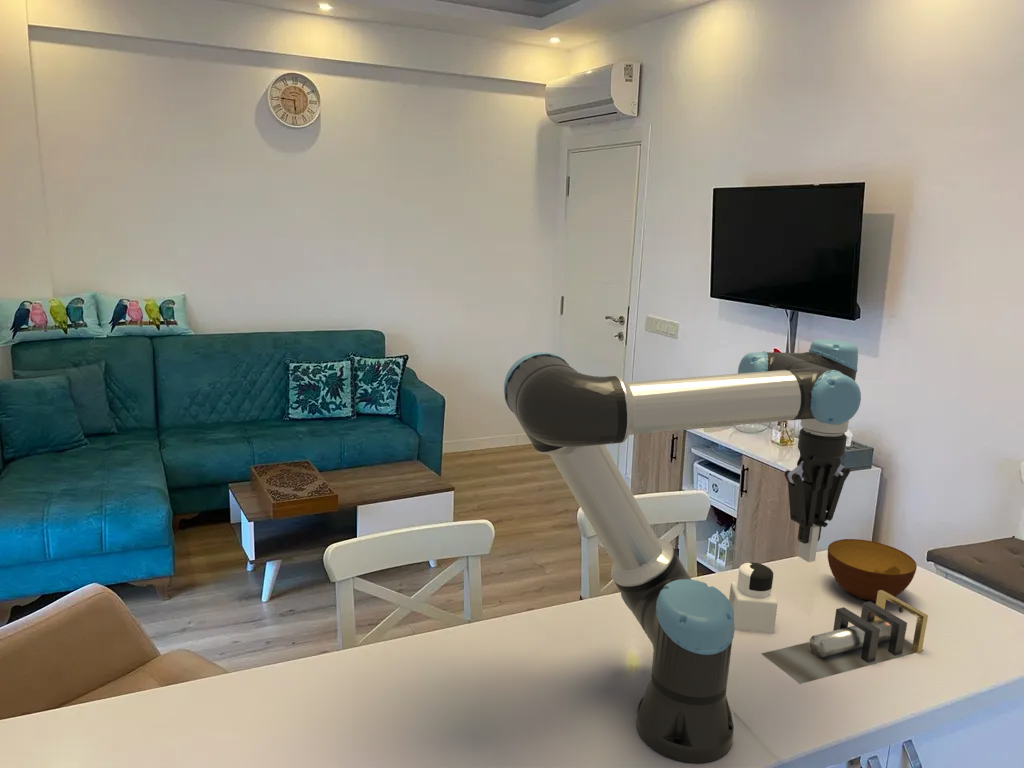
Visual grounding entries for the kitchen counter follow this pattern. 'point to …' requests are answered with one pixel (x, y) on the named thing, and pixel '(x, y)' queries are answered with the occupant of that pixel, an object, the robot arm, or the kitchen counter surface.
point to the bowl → (870, 568)
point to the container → (753, 599)
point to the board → (826, 660)
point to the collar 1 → (870, 630)
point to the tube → (846, 639)
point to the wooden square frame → (921, 616)
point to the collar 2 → (897, 624)
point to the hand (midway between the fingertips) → (806, 558)
